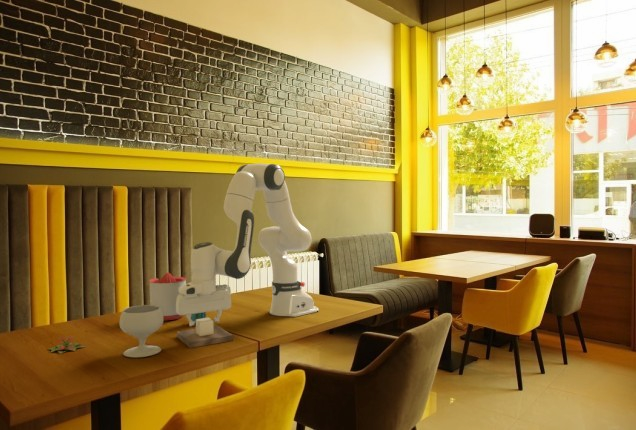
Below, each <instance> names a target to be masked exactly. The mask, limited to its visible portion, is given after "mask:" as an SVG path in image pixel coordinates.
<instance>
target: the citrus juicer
mask: <svg viewBox="0 0 636 430" xmlns="http://www.w3.org/2000/svg"><path fill="white" fill-rule="evenodd" d="M148 282H149V302H150V304H149V305H155V306H158V307H160V309H161V311H162V314H163V322H165V321H166V322H167V321H172V320H180V319H181V318H182V317H184V315H179V314H177V313H176V300H177V296H178V295H179V294H180V293H179V291H178V289H179V287H181V286H183V285H185V284H187V278H186V277H184V276H173V275H172V274H171V273H170V272H166V273H164V275H163V276H162V277H161V278H160V279H159V278H157V277H156V278H155V277H154V278H150V279H149V280H148Z"/></svg>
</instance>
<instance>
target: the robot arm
mask: <svg viewBox="0 0 636 430" xmlns="http://www.w3.org/2000/svg"><path fill="white" fill-rule="evenodd" d="M285 178H286V175H285V172H284V169H283V168H282V167H281V166H280V165H278V164H276V163H261V162H260V163H259V162H258V163H252V164H249V163H248V164H244V165H240V166H239V168H237V170H236V173H235V174H234V175H233V176H232V178H231V180H230V182H229V184H228V188H227V190H226V194H225V198H224V202H223V211H224V213H225V215H226V216H227V218H229V219H230V220H231V221H233V222H234V223H235V225H236V228H237V230H236V231H237V232H236V238H235V245H234V248H233V250H227V249H223V248H220V247H217V246H216V245H215V244H214V243H213V242H210V241H209V242H200V243H196V244H195V245H193V247H192V249H191V255H190V269H191V272H192V273H191V281H190V282H187V283H186V284H185V285H183V286H181V287H179V289H178V291H179V293H180V294H179V295H178V296H177V300H176V313H177V314H179V315H183V316H185V317H186V319H187V320H188V325H189V327H194V326H196V322H194V320H191V318H190V317H191V314H195V313H203V312H206V313H207V312H208V313H210V312H216V313H217V314H216V316H214V317H213V323H219V322H220V317H221V315H222V314H223V310H229V309H231V307H232V299H231V293H232V292H231V291H232V290H231V287H230V286H229V285H227V284H217V280H216V279H217V278H216V277H217V275H220V276H224V277H229V278H232V279H235V280H240V279H243V278H244V277H246V276H247V274H248V273H249V271H250V268H251V264H252V263H251V262H252V260H251V259H252V258H251V254H252V253H251V251H252V244H253V236H254V227H255V215H254V214H253V207H254V206H253V205H254V201H255V196H256V191H263V192H262V193H263V198H264V199H263V200H264V203H265V210H266V214H267V217H268V218H269V220H270V221H271V222H273V223H275V224H276V225H277V226H276V225H275V226H269V227H264V228H262V229H261V230H260V231H259V233H258V236H257V240H258V241H257V242H258V244H259V246H260V247H261V248H262V249H263V250H264V251H265V252H266V254H267V256H268V257H269V259H270V262H271V268H272V281H271V294H272V297H271V298H272V300H271V307H270V310H269V314H270V315H272V316H277V317H292V318H293V317H294V318H295V317H299V316H304V315H309V314H312V313H317V311H318V312H319V311H320V310H319V307H317V306H316V305H314V304H315V303H314V299H313V297H312V296H311V295H310V294H308V293H307V292H306V291H305V290H303V289H302V288H304V287H305V286H306V283H305V282H304V281H298V266H297V263H296V261H295V260H293V259H292V258H290V256H289V255H288V252H302V251H307V250H308V249H309V248H310V247H311V245H312V239H313V238H312V234H311V231H310V230H309V229H308V228H306V227H305V226H304V225H302V224H301V223H300V222H299V220H298V219H297V217H296V215H295V214H294V210H293V207H292V204H291V203H292V202H291V197H290V191H289V189H288V186H287V182H286V179H285ZM301 287H302V288H301Z"/></svg>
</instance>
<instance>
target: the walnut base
mask: <svg viewBox="0 0 636 430" xmlns="http://www.w3.org/2000/svg"><path fill="white" fill-rule="evenodd" d="M176 338H177V339H179V340H180V341H181V342H182V343H183V344H185V346H187V347H188V348H189V349H192V348H197V347H199V348H200V347H204V346H210V345H215V344H220V343H221V344H222V343H227V342H232V341H234V334H232V333H231V332H228V331H227V330H226V329H224V328H222V327H221V326H219V325H213V334H210V335H204V336H200V335H198V334H197V333H196V328H192V329H186V330H180V331H176Z"/></svg>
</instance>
